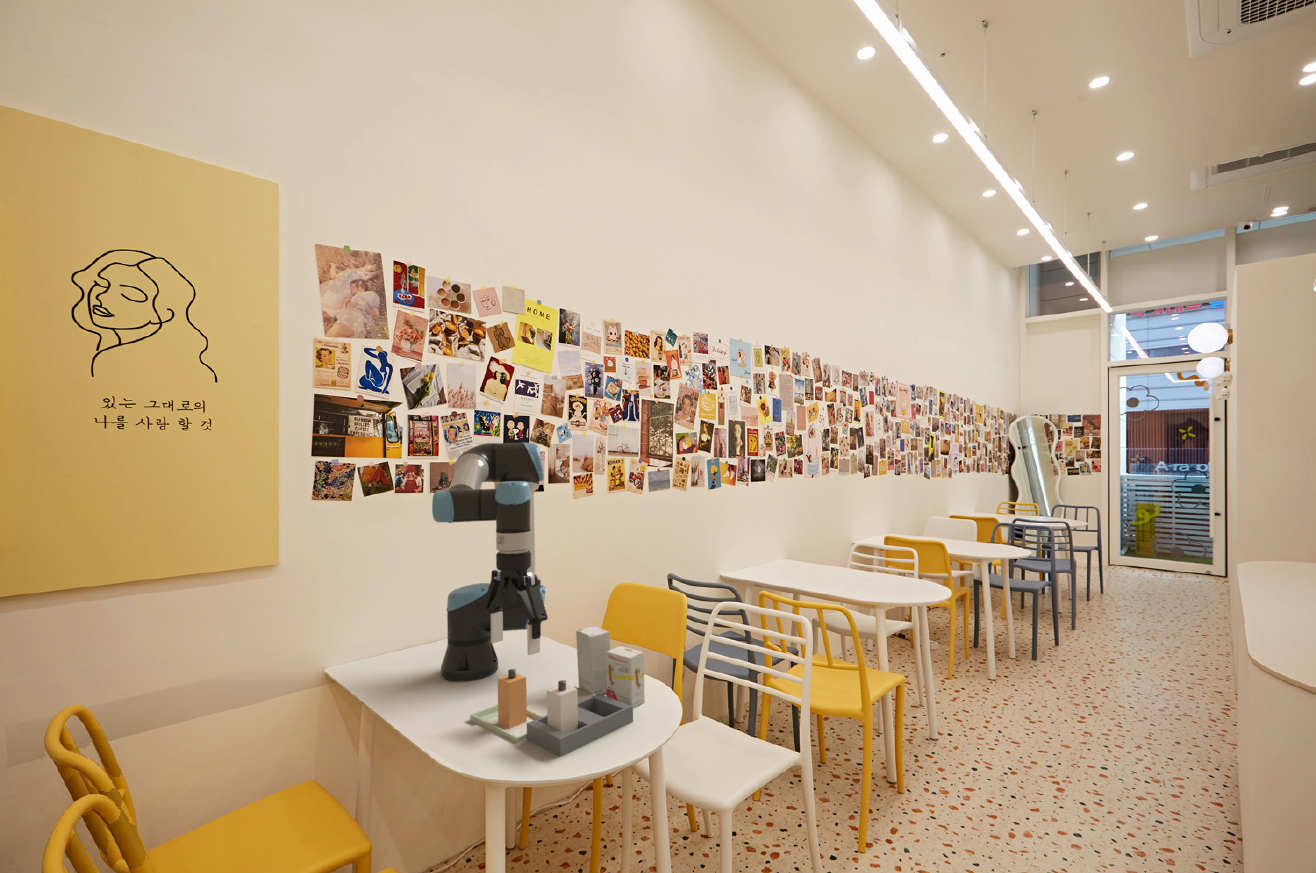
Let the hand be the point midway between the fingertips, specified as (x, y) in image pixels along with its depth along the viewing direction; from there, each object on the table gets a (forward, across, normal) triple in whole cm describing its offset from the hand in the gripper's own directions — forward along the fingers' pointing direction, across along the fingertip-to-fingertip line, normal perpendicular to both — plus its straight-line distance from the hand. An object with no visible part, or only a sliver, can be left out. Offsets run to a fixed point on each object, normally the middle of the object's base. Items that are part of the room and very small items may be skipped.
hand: (514, 647), depth 133 cm
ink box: (+17, +10, +24) cm, 31 cm away
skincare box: (+17, -1, +24) cm, 30 cm away
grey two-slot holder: (+17, +15, +6) cm, 23 cm away
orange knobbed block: (+16, 0, -1) cm, 17 cm away
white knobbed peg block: (+16, +15, +1) cm, 22 cm away
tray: (+17, 0, -1) cm, 17 cm away
